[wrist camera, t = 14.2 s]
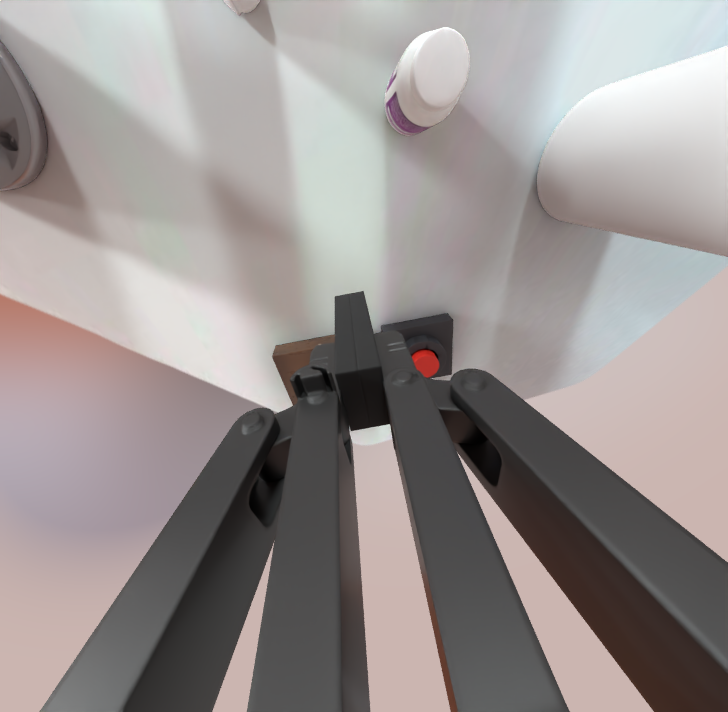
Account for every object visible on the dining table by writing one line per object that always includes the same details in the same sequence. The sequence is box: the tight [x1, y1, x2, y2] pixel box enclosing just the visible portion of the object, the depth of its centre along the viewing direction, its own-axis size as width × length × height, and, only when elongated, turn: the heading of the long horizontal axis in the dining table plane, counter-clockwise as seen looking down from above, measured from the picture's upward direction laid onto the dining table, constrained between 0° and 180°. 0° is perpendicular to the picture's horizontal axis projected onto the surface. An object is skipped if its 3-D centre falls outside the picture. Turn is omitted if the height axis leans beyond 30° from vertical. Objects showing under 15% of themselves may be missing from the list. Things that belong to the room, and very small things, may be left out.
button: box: [411, 349, 439, 378], centre depth 39 cm, size 4×4×2 cm
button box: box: [381, 313, 453, 379], centre depth 41 cm, size 10×10×4 cm
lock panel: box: [272, 335, 335, 406], centre depth 42 cm, size 14×11×3 cm
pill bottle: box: [384, 27, 470, 136], centre depth 23 cm, size 5×5×10 cm
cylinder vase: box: [537, 46, 728, 257], centre depth 21 cm, size 12×12×25 cm
